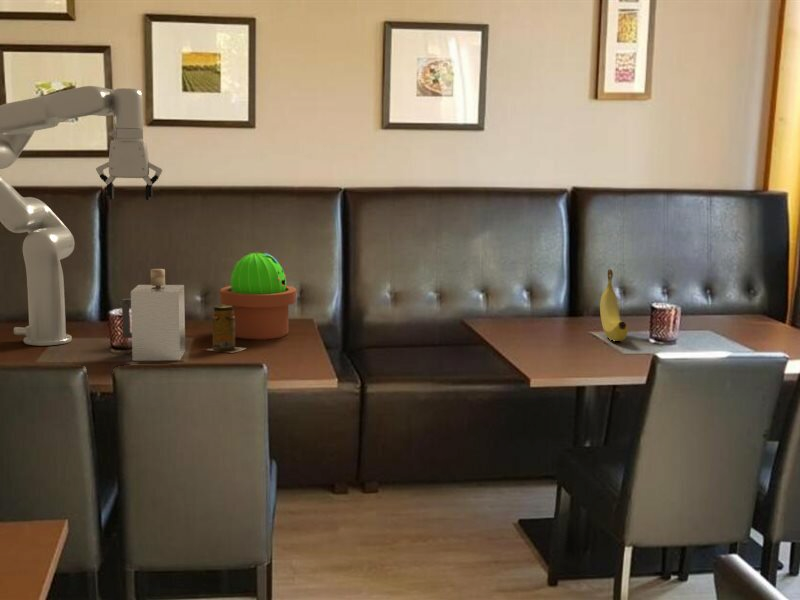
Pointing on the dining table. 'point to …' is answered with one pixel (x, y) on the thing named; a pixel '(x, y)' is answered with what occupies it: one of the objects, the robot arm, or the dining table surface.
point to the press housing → (155, 322)
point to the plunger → (157, 278)
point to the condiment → (224, 329)
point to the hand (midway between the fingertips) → (130, 199)
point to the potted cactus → (259, 297)
